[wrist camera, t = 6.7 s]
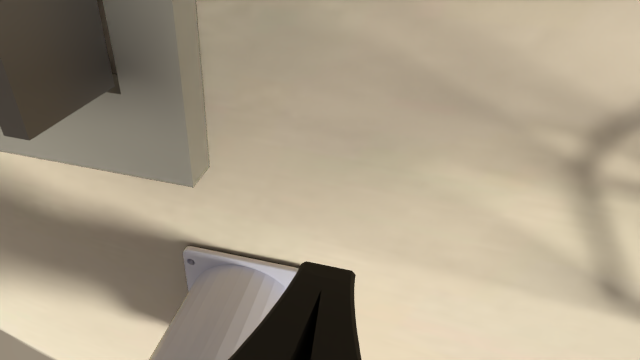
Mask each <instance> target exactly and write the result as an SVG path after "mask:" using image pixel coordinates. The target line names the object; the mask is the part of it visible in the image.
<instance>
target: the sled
mask: <svg viewBox="0 0 640 360" xmlns="http://www.w3.org/2000/svg"><path fill="white" fill-rule="evenodd" d="M113 87H115V85H114V81H113V76H112V71H111V66H110V61H109V56H108V52H107V47H106V42H105V37H104V32H103V27H102V22H101V18H100V13H99V8H98V3H97V0H0V127H1V130H2V132H3V135H4V136H7V137H13V138H18V139H24V140H29V141H30V140H31V139H33V138H35V137H36V136H38V135H39V134H41V133H42V132H44V131H46V130H47V129H49V128H50V127H52V126H53V125H55V124H57V123H58V122H60V121H61V120H63V119H64V118H66V117H68V116H69V115H71V114H72V113H74V112H75V111H77V110H79V109H80V108H82V107H83V106H85V105H86V104H88V103H90V102H91V101H93V100H94V99H96V98H97V97H99V96H101V95H102V94H104V93H105V92H107V91H108V90H110V89H112V88H113Z"/></svg>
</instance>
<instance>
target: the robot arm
mask: <svg viewBox="0 0 640 360" xmlns="http://www.w3.org/2000/svg"><path fill="white" fill-rule="evenodd" d="M183 259H184V266H185V273H186V280H187V286H188V294H187V296H186V298H185V299H184V301H183V303H182V304H181V306H180V308H179V310H178V311H177V313H176V315H175V316H174V318H173V320H172V321H171V323H170V325H169V327H168V328H167V330H166V332H165V333H164V335H163V337H162V338H161V340H160V342H159V344H158V345H157V347H156V349H155V350H154V352H153V354H152V355H151V357H150V359H149V360H361V355H360V348H359V342H358V335H357V328H356V319H355V306H354V283H355V274H354V273H353V272H352V271H350V270H345V269H340V268H336V267H331V266H326V265H321V264H316V263H311V262H304V263H302V264H301V266H300V267H299V268H296V267H291V266H286V265H281V264H276V263H271V262H266V261H261V260H256V259H252V258H247V257H242V256H237V255H232V254H227V253H222V252H217V251H212V250H208V249H203V248H198V247H193V246H188V247H186V248H185V250H184V251H183Z"/></svg>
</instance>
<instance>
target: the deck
mask: <svg viewBox="0 0 640 360" xmlns="http://www.w3.org/2000/svg"><path fill="white" fill-rule="evenodd" d="M102 1H103V6H104V11H105V16H106V21H107V26H108V31H109V36H110V41H111V46H112V51H113V56H114V61H115V66H116V71H117V74H112V76H113V81H114V85H115V87H113V88H112V89H110V90H108V91H107V92H105V93H104V94H102V95H101V96H99V97H97V98H96V99H94V100H93V101H91V102H90V103H88V104H86V105H85V106H83V107H82V108H80V109H79V110H77V111H75V112H74V113H72V114H71V115H69V116H68V117H66V118H64V119H63V120H61V121H60V122H58V123H57V124H55V125H53V126H52V127H50V128H49V129H47V130H46V131H44V132H42V133H41V134H39V135H38V136H36V137H35V138H33V139H31V140H30V141H29V140H24V139H18V138H13V137H7V136H4V135H3V132H2V130H1V127H0V151H1V152H6V153H11V154H17V155H22V156H27V157H33V158H38V159H44V160H49V161H54V162H60V163H65V164H70V165H76V166H81V167H86V168H92V169H97V170H102V171H108V172H113V173H118V174H124V175H129V176H135V177H140V178H145V179H151V180H156V181H161V182H167V183H172V184H177V185H183V186H188V187H194V186H195V185H196V183H197V182H198V181H199V180H200V178H201V177H202V176H203V174H204V173H205V172H206V171H207V169H208V168H209V167H210V166H209V154H208V142H207V130H206V118H205V106H204V94H203V83H202V71H201V59H200V47H199V35H198V23H197V11H196V0H102Z"/></svg>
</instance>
